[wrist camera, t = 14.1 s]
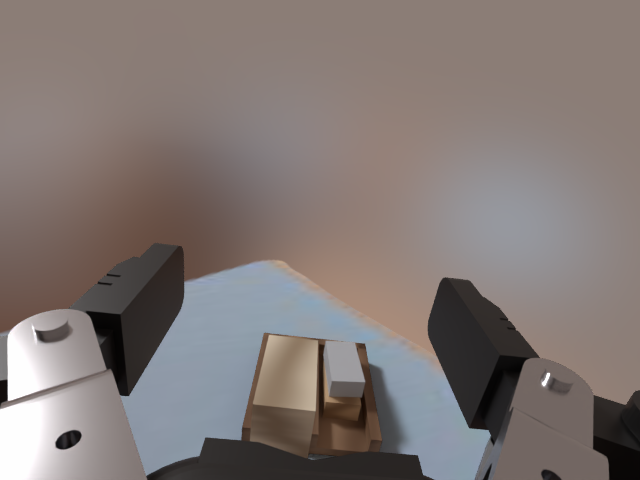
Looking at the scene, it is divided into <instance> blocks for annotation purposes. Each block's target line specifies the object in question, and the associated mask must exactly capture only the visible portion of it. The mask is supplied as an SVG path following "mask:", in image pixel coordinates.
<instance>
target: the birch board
mask: <svg viewBox="0 0 640 480" xmlns="http://www.w3.org/2000/svg"><path fill="white" fill-rule="evenodd" d="M317 357H318V340H310V339H301V338H293V337H284V336H276V335H269V337H268V341H267V346H266V350H265V354H264V358H263V363H262V367H261V371H260V375H259V380H258V384H257V388H256V392H255V397H254V401H253V407H252V419H251V432H250V441H252V442H260V443H263V444H266V445H269V446H272V447H275V448H278V449H281V450H284V451H287V452H290V453H293V454H295V455H298V456H301V457H304V458H307V459H308V453H309V447H310V441H311V436H312V430H313V424H314V418H315V412H316V386H317Z"/></svg>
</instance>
